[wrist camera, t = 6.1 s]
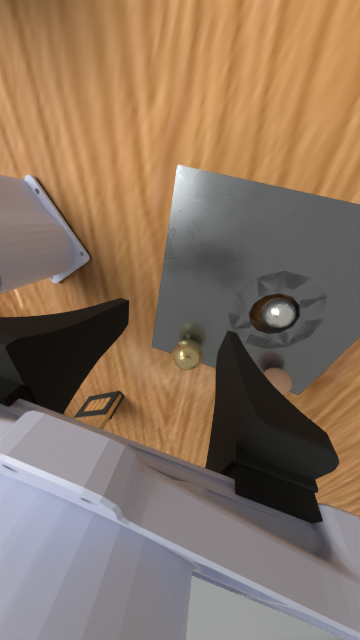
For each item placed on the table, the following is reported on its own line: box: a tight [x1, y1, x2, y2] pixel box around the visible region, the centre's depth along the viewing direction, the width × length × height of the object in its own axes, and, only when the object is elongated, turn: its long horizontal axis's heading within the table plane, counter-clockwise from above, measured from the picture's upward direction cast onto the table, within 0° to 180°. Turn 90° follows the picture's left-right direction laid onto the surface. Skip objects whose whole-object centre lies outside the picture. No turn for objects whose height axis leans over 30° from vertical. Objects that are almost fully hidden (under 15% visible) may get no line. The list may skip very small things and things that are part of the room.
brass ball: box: [172, 339, 203, 370], centre depth 20 cm, size 4×4×4 cm
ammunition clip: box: [74, 391, 124, 430], centre depth 33 cm, size 11×2×12 cm, turn 119°
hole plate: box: [152, 165, 360, 395], centre depth 18 cm, size 20×19×2 cm
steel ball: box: [261, 297, 296, 328], centre depth 17 cm, size 3×3×3 cm
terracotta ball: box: [263, 367, 292, 395], centre depth 19 cm, size 3×3×3 cm
